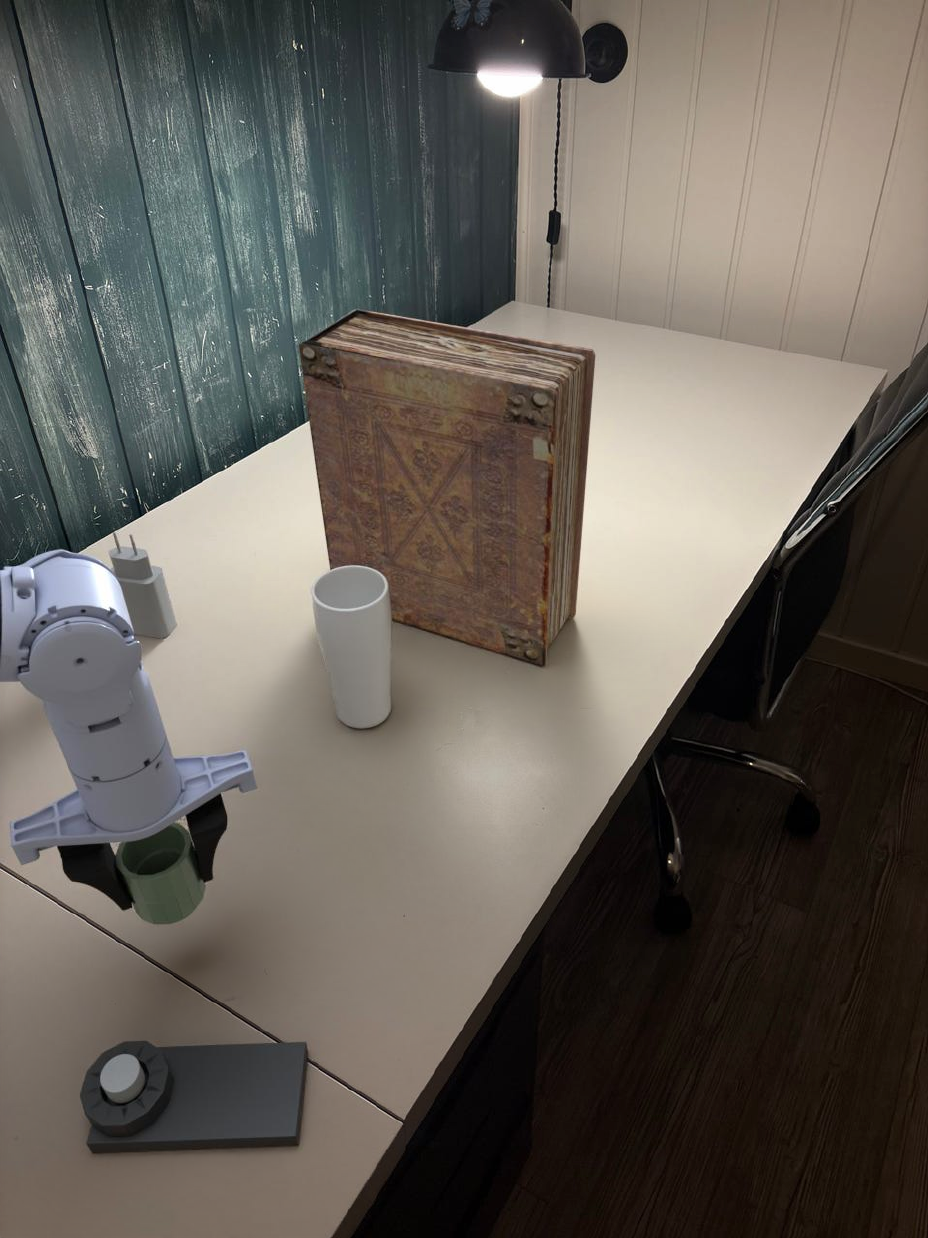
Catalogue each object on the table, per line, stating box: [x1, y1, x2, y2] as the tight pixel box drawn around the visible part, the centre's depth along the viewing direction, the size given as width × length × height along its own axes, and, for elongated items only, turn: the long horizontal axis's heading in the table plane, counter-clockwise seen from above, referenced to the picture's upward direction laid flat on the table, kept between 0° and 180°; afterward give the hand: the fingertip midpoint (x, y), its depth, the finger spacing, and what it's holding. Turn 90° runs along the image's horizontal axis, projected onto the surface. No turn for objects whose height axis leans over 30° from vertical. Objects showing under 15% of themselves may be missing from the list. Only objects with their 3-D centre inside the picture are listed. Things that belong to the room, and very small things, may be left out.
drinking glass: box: [310, 565, 393, 729], centre depth 83 cm, size 7×7×15 cm
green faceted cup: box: [115, 821, 207, 926], centre depth 62 cm, size 5×5×6 cm
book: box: [298, 308, 596, 668], centre depth 91 cm, size 25×9×30 cm, turn 63°
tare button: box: [100, 1054, 145, 1103], centre depth 58 cm, size 2×2×2 cm
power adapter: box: [108, 531, 178, 639], centre depth 95 cm, size 3×5×12 cm, turn 76°
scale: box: [79, 1040, 309, 1154], centre depth 59 cm, size 14×6×3 cm, turn 92°
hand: (166, 883), depth 63 cm, fingers closed on green faceted cup, 5 cm apart
